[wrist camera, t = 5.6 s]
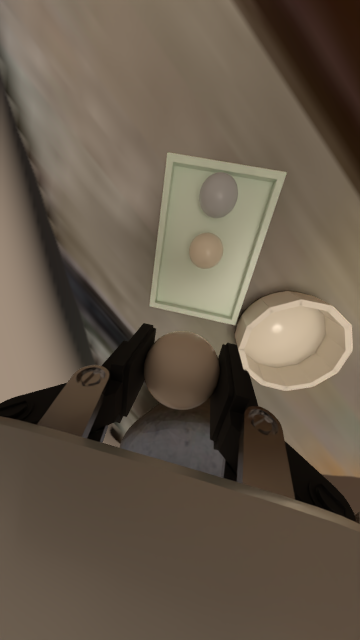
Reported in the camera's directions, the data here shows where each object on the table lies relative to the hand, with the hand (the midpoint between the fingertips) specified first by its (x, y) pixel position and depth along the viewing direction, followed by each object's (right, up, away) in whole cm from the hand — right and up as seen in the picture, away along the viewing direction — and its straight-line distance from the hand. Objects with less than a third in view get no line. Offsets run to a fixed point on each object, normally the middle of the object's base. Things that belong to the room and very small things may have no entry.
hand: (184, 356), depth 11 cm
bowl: (+14, 0, +16) cm, 21 cm away
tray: (+3, +11, +13) cm, 17 cm away
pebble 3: (+3, +11, +13) cm, 17 cm away
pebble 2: (+4, +16, +10) cm, 19 cm away
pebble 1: (0, 0, +1) cm, 1 cm away
